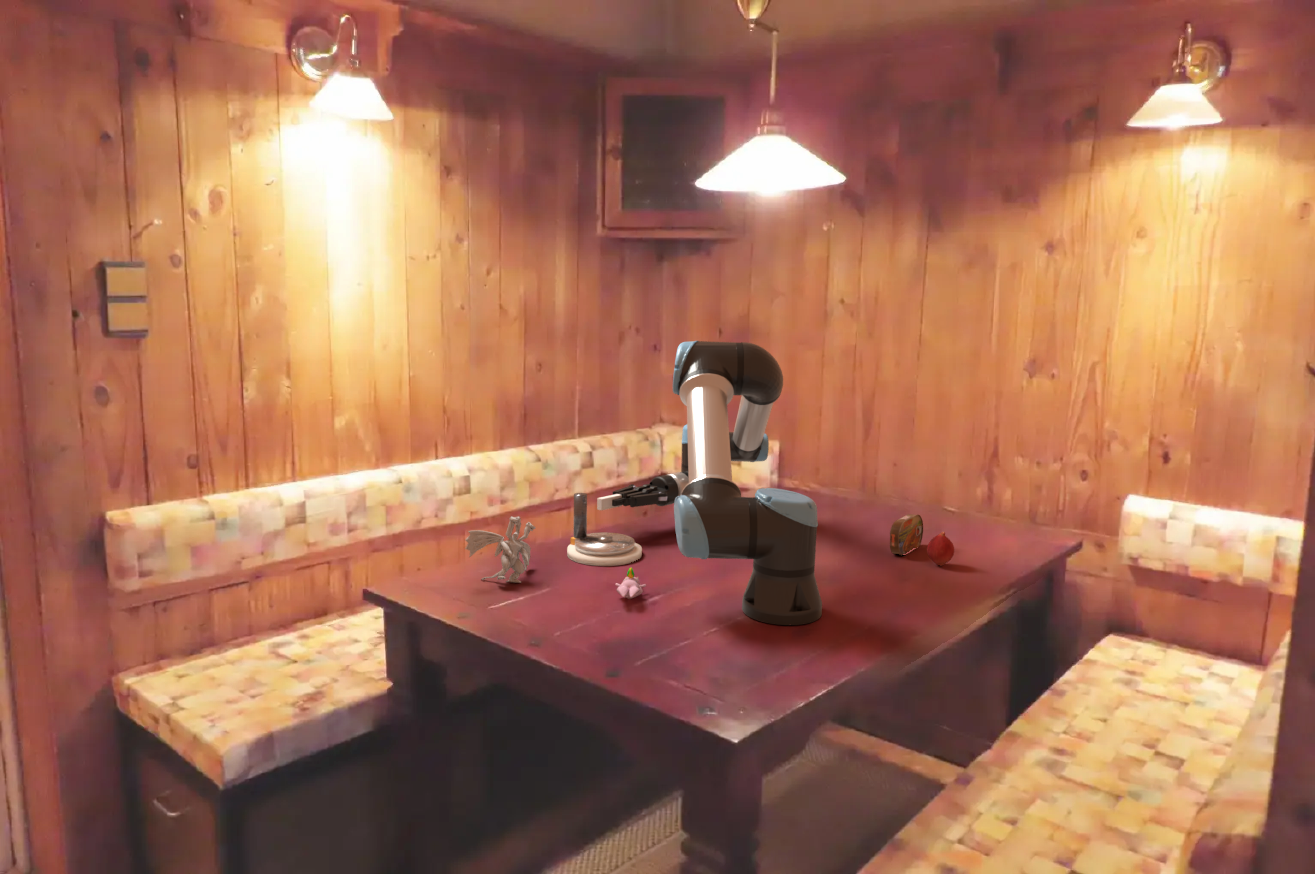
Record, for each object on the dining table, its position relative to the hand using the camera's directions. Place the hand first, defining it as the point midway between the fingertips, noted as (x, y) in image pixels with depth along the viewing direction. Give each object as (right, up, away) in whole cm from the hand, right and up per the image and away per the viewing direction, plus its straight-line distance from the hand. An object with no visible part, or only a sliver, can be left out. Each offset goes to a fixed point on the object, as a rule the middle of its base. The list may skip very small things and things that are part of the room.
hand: (599, 504), depth 213 cm
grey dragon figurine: (-17, -14, -23) cm, 32 cm away
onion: (+77, -13, -7) cm, 79 cm away
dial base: (+2, -11, -5) cm, 12 cm away
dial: (+1, -9, -5) cm, 11 cm away
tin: (+72, -12, +3) cm, 73 cm away
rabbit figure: (+8, -16, -32) cm, 37 cm away
